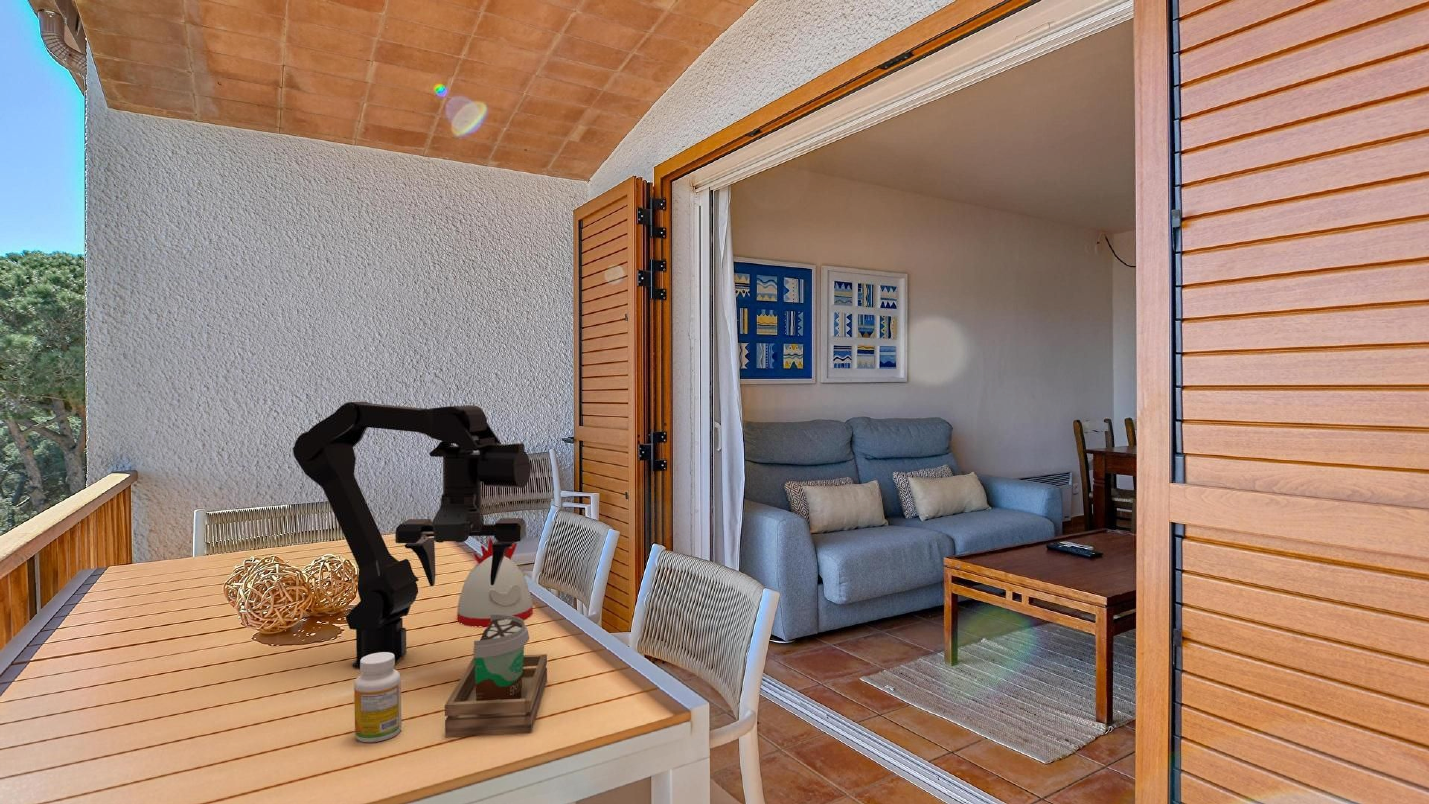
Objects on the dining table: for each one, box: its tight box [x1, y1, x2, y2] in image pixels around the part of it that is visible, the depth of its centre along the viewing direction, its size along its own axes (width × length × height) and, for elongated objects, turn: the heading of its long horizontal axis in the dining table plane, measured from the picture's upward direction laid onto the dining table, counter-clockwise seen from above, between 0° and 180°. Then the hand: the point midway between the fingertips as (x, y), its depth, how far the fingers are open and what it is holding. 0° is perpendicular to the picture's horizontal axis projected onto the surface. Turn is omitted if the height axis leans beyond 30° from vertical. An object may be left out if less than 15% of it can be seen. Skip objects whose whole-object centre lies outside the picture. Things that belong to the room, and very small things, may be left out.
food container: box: [472, 615, 530, 701], centre depth 102 cm, size 12×6×10 cm, turn 6°
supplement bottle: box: [353, 652, 403, 743], centre depth 94 cm, size 5×5×10 cm
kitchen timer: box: [456, 538, 534, 628], centre depth 143 cm, size 14×14×15 cm
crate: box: [444, 653, 548, 738], centre depth 102 cm, size 11×17×4 cm, turn 6°
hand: (462, 585), depth 117 cm, fingers open, 9 cm apart
